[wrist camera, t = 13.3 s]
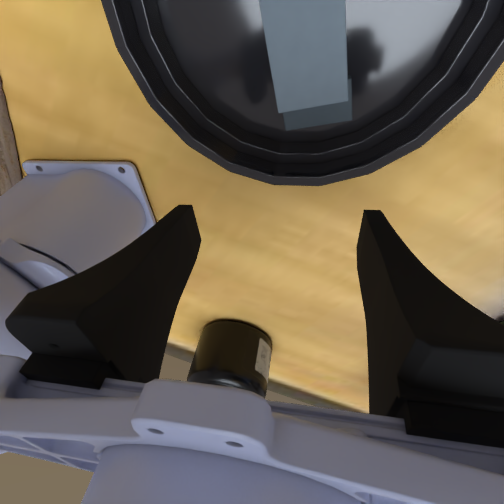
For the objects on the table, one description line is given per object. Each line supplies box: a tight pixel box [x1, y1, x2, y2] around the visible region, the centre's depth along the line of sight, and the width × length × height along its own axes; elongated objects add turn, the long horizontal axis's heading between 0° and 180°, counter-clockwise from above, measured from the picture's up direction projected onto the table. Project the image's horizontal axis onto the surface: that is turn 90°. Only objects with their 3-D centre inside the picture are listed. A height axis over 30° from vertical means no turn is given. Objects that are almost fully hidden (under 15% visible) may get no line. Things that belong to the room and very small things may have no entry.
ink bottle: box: [187, 321, 272, 399], centre depth 35 cm, size 10×9×12 cm
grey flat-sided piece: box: [259, 0, 352, 131], centre depth 13 cm, size 12×4×4 cm, turn 13°
